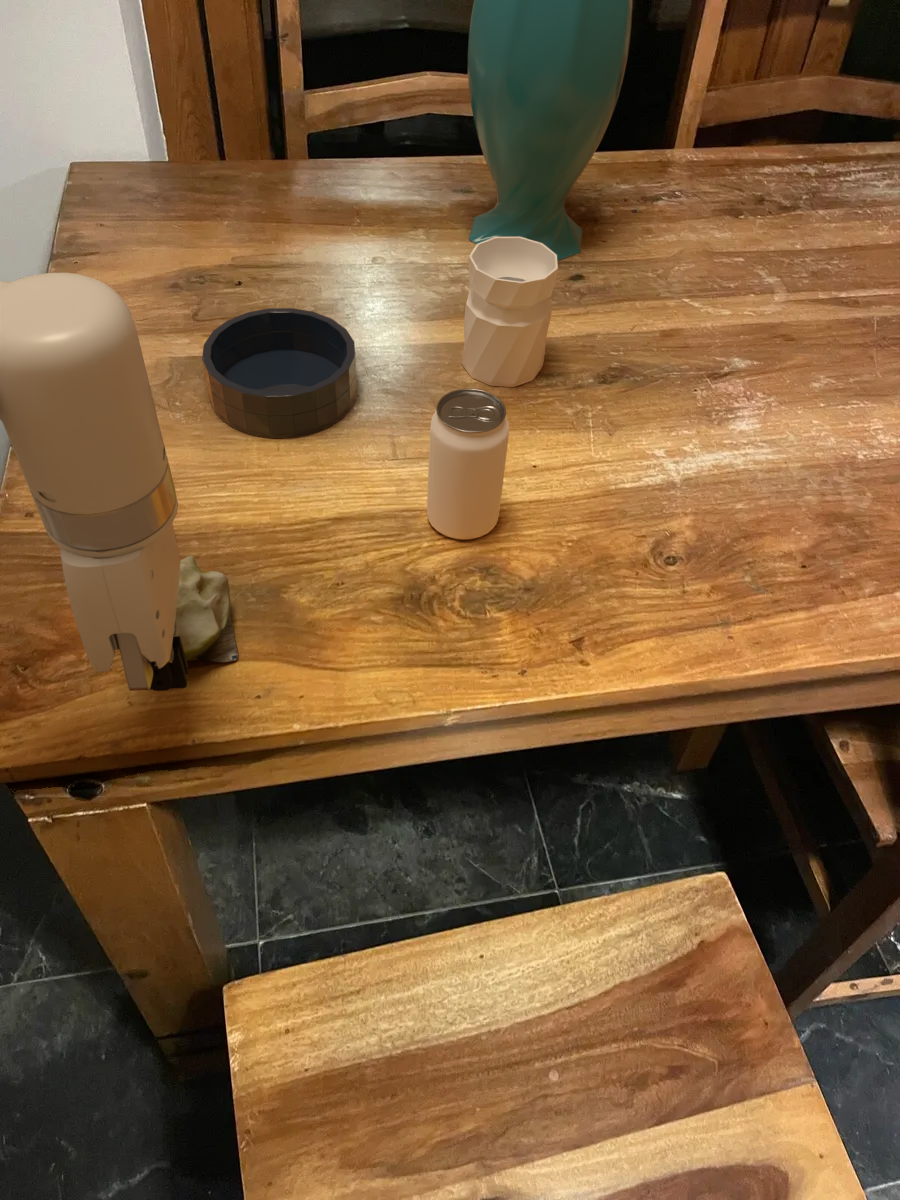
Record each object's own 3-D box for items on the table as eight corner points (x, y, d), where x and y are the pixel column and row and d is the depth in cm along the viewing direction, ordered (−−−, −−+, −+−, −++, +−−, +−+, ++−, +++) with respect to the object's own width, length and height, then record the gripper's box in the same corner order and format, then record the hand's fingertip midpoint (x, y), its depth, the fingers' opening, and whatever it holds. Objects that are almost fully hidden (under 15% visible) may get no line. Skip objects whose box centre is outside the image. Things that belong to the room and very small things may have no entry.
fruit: (150, 709, 71) (103, 645, 65) (126, 627, 77) (82, 561, 71) (263, 658, 72) (228, 590, 66) (231, 581, 78) (196, 513, 72)
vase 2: (445, 367, 98) (451, 262, 89) (489, 330, 103) (499, 226, 94) (515, 398, 96) (529, 293, 86) (558, 359, 100) (575, 255, 91)
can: (498, 544, 82) (512, 437, 73) (425, 541, 82) (429, 433, 73) (497, 493, 86) (510, 386, 77) (427, 490, 86) (432, 383, 77)
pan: (205, 441, 89) (197, 398, 85) (214, 351, 98) (207, 309, 95) (359, 436, 90) (358, 394, 87) (353, 348, 100) (351, 306, 96)
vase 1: (448, 260, 112) (463, -29, 90) (468, 194, 124) (486, -78, 101) (590, 278, 111) (642, -9, 89) (598, 210, 123) (646, -61, 100)
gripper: (60, 412, 58) (125, 603, 72) (11, 594, 48) (97, 774, 62) (184, 409, 59) (224, 599, 72) (160, 588, 49) (212, 767, 63)
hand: (165, 679), depth 67 cm, fingers closed
